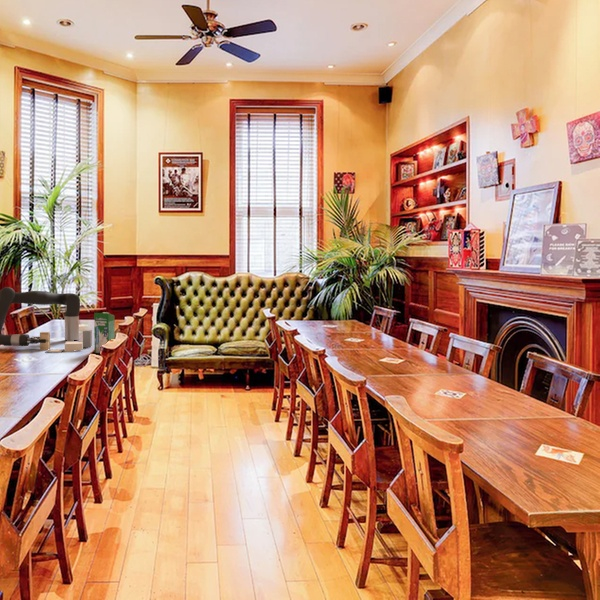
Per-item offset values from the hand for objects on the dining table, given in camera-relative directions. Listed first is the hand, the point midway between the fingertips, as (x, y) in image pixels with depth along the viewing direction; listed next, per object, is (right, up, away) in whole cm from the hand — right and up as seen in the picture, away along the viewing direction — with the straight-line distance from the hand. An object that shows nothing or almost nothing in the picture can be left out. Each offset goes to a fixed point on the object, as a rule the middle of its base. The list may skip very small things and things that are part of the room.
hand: (47, 340), depth 349 cm
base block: (+17, -7, +1) cm, 18 cm away
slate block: (+21, -6, +12) cm, 25 cm away
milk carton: (+38, -7, -5) cm, 39 cm away
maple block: (-2, -6, 0) cm, 6 cm away
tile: (+8, -7, -7) cm, 13 cm away
